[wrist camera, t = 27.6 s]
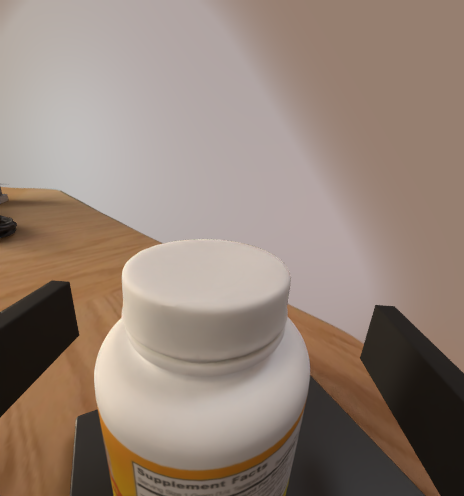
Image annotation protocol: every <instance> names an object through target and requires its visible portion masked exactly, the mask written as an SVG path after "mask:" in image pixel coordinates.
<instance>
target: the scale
mask: <svg viewBox="0 0 464 496" xmlns="http://www.w3.org/2000/svg"><path fill="white" fill-rule="evenodd" d="M70 496H114V495H113V489H112V483H111V478H110V472H109V467H108V462H107V456H106V451H105V445H104V440H103V435H102V429H101V424H100V418H99V413H98V410H95V411H92V412H89V413H86V414H83V415H80V416H78V417H77V418H76V426H75V438H74V450H73V462H72V475H71V487H70ZM285 496H425V495H424V494H423V493H422V492H421V491H420V490H419V489H418V488H417V486H416V485H415V484H414V483H413V482H412V481H411V480H410V479H409V478H408V477H407V476H406V475H405V474H404V473H403V472H402V471H401V470H400V469H399V468H398V467H397V466H396V464H395V463H394V462H393V461H392V460H391V459H390V458H389V457H388V456H387V455H386V454H385V453H384V452H383V451H382V450H381V449H380V448H379V447H378V446H377V445H376V444H375V442H374V441H373V440H372V439H371V438H370V437H369V436H368V435H367V434H366V433H365V432H364V431H363V430H362V429H361V428H360V427H359V426H358V425H357V424H356V423H355V422H354V420H353V419H352V418H351V417H350V416H349V415H348V414H347V413H346V412H345V411H344V410H343V409H342V408H341V407H340V406H339V405H338V404H337V403H336V402H335V401H334V400H333V398H332V397H331V396H330V395H329V394H328V393H327V392H326V391H325V390H324V389H323V388H322V387H321V386H320V385H319V384H318V383H317V382H316V381H315V380H314V379H313V378H312V376H311V375H310V381H309V389H308V395H307V399H306V404H305V408H304V413H303V418H302V423H301V427H300V432H299V436H298V441H297V445H296V450H295V454H294V459H293V463H292V468H291V473H290V477H289V483H288V487H287V490H286V495H285Z"/></svg>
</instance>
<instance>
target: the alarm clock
mask: <svg viewBox="0 0 464 496" xmlns="http://www.w3.org/2000/svg"><path fill="white" fill-rule="evenodd" d="M6 201H8V196H7V194H2V192H1V188H0V204H1V203H4V202H6Z"/></svg>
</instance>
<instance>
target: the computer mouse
mask: <svg viewBox="0 0 464 496" xmlns="http://www.w3.org/2000/svg"><path fill="white" fill-rule="evenodd" d="M16 226H17V223H16V222H14V221H13V219H12V218H8V217H4V216H1V215H0V238H3V237H7V236H10V235H12V234H14V233H15V231H16Z"/></svg>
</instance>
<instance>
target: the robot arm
mask: <svg viewBox="0 0 464 496" xmlns="http://www.w3.org/2000/svg"><path fill="white" fill-rule="evenodd" d="M78 336H79V331H78V326H77V320H76V315H75V310H74V304H73V299H72V293H71V288H70V282H64V281H50V282H49V283H47V284H46V285H44V286H42V287H41V288H39V289H37V290H36V291H34V292H32V293H31V294H29V295H28V296H26V297H24V298H23V299H21V300H19V301H18V302H16V303H15V304H13V305H11V306H10V307H8V308H6V309H5V310H3V311H1V312H0V417H1V416H2V415H3V414H4V413H5V412H6V411H7V410H8V409H9V408H10V407H11V406H12V405H13V404H14V403H15V402H16V400H17V399H18V398H19V397H20V396H21V395H22V394H23V393H24V392H25V391H26V390H27V389H28V388H29V387H30V386H31V385H32V384H33V383H34V382H35V381H36V380H37V379H38V378H39V376H40V375H41V374H42V373H43V372H44V371H45V370H46V369H47V368H48V367H49V366H50V365H51V364H52V363H53V362H54V361H55V360H56V359H57V358H58V357H59V356H60V355H61V354H62V353H63V351H64V350H65V349H66V348H67V347H68V346H69V345H70V344H71V343H72V342H73V341H74V340H75V339H76V338H77V337H78ZM360 359H361V361H362V362H363V364H364V366H365V367H366V369H367V371H368V372H369V374H370V376H371V378H372V379H373V381H374V383H375V384H376V386H377V388H378V390H379V391H380V393H381V395H382V396H383V398H384V400H385V401H386V403H387V405H388V407H389V408H390V410H391V412H392V413H393V415H394V417H395V419H396V420H397V422H398V424H399V425H400V427H401V429H402V430H403V432H404V434H405V436H406V437H407V439H408V441H409V442H410V444H411V446H412V448H413V449H414V451H415V453H416V454H417V456H418V458H419V459H420V461H421V463H422V465H423V466H424V468H425V470H426V471H427V473H428V475H429V477H430V478H431V480H432V482H433V483H434V485H435V487H436V488H437V490H438V492H439V494H440V495H441V496H464V373H463V372H462V371H461V370H459V368H458V367H457V366H455V365H454V364H453V363H452V362H451V361H450V360H449V359H448V358H447V357H446V356H445V355H444V354H443V353H442V352H441V351H440V350H439V349H438V348H437V347H436V346H435V345H434V344H433V343H432V342H431V341H430V340H429V339H428V338H426V337H425V336H424V335H423V334H422V333H421V332H420V331H419V330H418V329H417V328H416V327H415V326H414V325H413V324H412V323H411V322H410V321H409V320H408V319H407V318H406V317H405V316H404V315H403V314H402V313H401V312H400V311H399V310H398V309H396V308H395V307H394V306H380V305H375V309H374V312H373V316H372V319H371V322H370V326H369V329H368V333H367V336H366V340H365V343H364V346H363V350H362V353H361V357H360Z"/></svg>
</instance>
